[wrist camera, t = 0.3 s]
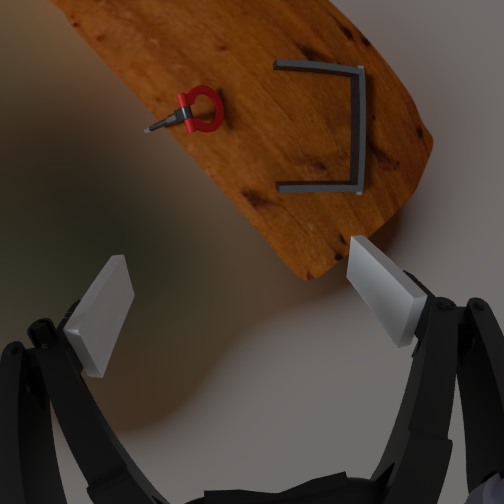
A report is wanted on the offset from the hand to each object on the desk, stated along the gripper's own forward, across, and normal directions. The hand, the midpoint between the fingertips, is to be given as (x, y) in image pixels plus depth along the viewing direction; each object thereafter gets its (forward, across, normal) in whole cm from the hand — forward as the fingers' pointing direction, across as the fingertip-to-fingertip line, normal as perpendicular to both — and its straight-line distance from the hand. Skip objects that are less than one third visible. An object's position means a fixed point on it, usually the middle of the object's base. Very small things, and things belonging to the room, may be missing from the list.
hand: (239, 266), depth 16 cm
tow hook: (+30, -4, +10) cm, 32 cm away
